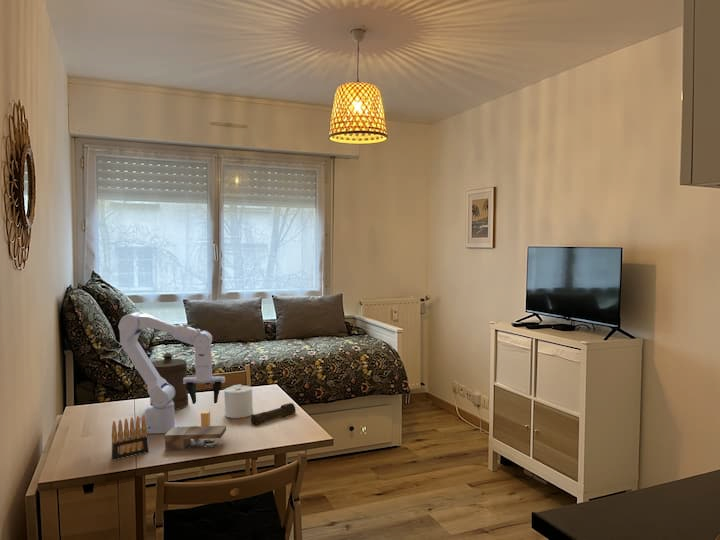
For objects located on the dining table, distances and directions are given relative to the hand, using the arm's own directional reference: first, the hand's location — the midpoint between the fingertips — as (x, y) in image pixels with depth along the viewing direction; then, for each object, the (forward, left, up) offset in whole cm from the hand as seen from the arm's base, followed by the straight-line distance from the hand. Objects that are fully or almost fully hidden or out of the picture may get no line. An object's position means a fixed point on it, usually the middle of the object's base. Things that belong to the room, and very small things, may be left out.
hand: (205, 402), depth 199 cm
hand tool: (+23, +10, -10) cm, 27 cm away
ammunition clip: (-18, -24, -10) cm, 31 cm away
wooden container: (-23, +29, -10) cm, 39 cm away
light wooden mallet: (0, -5, -9) cm, 11 cm away
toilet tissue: (+8, +16, -10) cm, 21 cm away
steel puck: (+6, -17, -10) cm, 20 cm away
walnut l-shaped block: (+1, -17, -9) cm, 19 cm away
